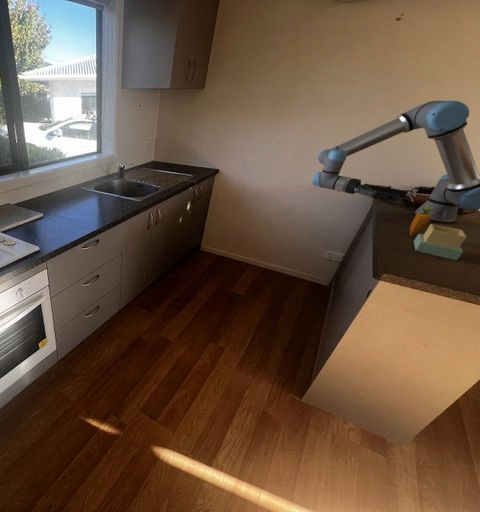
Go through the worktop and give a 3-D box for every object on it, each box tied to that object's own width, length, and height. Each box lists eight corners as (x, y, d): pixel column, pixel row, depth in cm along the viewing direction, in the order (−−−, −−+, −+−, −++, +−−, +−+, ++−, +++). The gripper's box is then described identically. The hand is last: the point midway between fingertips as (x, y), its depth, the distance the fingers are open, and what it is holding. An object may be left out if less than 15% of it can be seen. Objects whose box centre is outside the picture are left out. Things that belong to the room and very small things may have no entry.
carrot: (415, 239, 132) (434, 208, 124) (401, 235, 136) (419, 204, 128) (420, 237, 133) (440, 206, 126) (407, 233, 137) (425, 203, 130)
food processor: (413, 240, 130) (425, 221, 126) (452, 249, 123) (466, 229, 119) (415, 250, 122) (428, 230, 117) (456, 260, 115) (472, 239, 110)
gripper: (353, 189, 157) (405, 200, 141) (335, 196, 144) (389, 209, 129) (360, 175, 153) (414, 184, 138) (341, 181, 140) (398, 192, 125)
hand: (402, 196), depth 133 cm, fingers open, 13 cm apart
